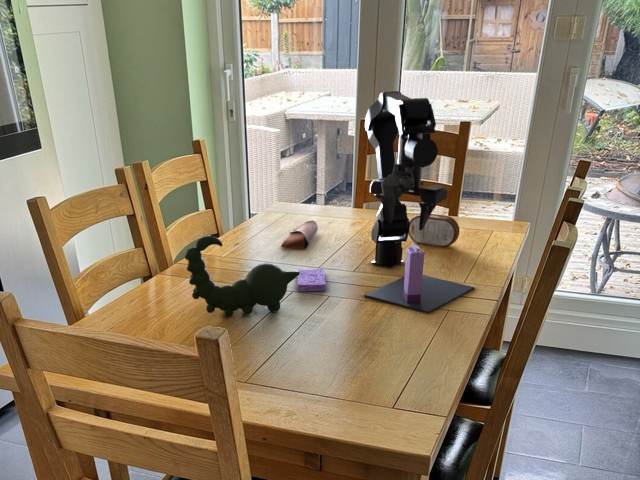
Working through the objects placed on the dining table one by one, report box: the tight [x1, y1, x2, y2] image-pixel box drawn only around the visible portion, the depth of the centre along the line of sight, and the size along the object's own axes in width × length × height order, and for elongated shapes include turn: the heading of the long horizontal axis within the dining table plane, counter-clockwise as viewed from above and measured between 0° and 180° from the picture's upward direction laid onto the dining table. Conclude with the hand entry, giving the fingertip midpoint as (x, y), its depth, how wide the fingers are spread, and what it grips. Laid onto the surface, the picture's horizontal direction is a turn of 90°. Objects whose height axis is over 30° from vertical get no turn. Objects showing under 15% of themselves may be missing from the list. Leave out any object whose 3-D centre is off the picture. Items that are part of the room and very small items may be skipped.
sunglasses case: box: [280, 219, 319, 251], centre depth 213 cm, size 18×7×7 cm
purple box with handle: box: [403, 242, 426, 302], centre depth 166 cm, size 5×3×12 cm
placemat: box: [364, 274, 475, 315], centre depth 174 cm, size 18×21×1 cm
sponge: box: [297, 268, 327, 292], centre depth 182 cm, size 7×13×2 cm, turn 179°
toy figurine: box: [184, 235, 300, 318], centre depth 162 cm, size 9×19×25 cm
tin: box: [408, 212, 460, 248], centre depth 205 cm, size 15×3×8 cm, turn 58°
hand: (405, 226), depth 176 cm, fingers open, 9 cm apart
